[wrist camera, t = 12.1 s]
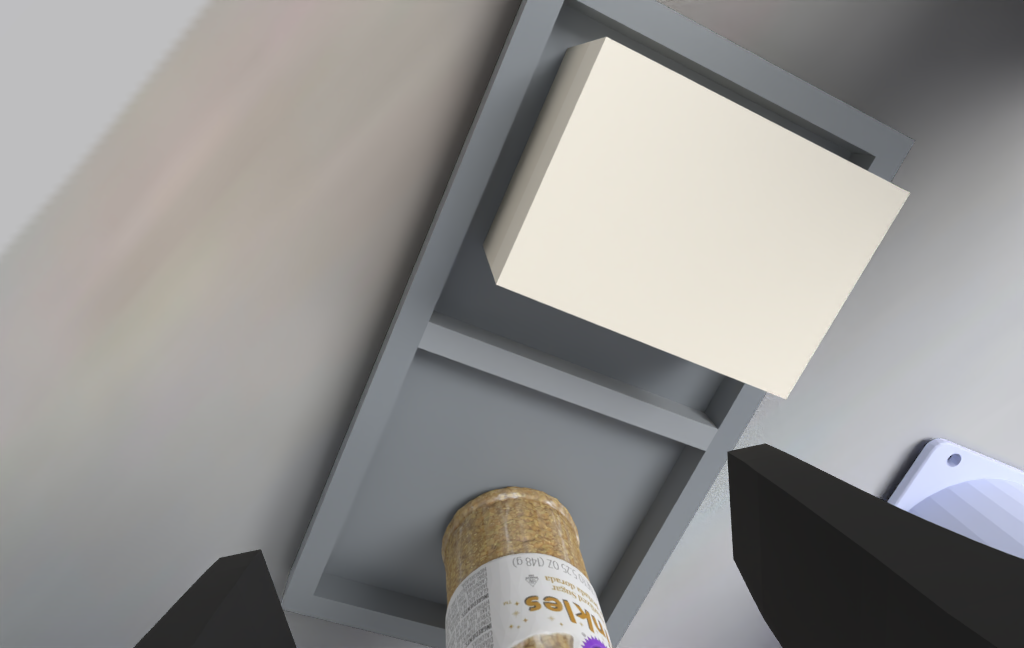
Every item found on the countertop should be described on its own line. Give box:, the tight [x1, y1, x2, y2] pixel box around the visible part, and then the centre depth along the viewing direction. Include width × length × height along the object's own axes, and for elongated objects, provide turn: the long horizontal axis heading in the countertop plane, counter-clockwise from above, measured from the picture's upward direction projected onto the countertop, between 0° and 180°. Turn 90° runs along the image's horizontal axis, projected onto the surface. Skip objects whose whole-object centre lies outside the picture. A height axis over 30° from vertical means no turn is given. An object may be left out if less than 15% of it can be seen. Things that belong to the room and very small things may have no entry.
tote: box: [281, 0, 915, 648], centre depth 20 cm, size 11×20×2 cm, turn 156°
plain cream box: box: [483, 37, 910, 399], centre depth 17 cm, size 8×6×4 cm
